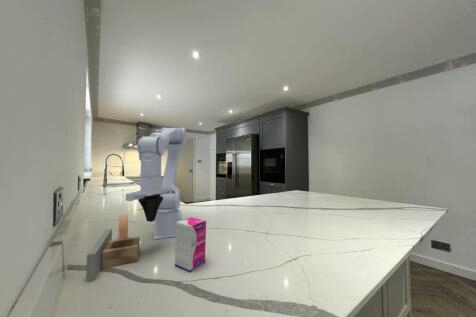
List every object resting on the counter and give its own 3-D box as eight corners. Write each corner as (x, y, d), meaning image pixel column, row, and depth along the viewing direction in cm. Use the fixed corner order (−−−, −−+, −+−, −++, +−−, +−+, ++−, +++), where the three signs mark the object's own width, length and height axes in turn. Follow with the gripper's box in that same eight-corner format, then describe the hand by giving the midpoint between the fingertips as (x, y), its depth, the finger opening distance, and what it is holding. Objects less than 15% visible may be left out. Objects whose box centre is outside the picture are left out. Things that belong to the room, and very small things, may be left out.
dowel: (128, 236, 69) (128, 214, 69) (127, 239, 66) (127, 216, 66) (119, 237, 67) (119, 215, 68) (117, 240, 65) (118, 217, 65)
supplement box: (190, 273, 46) (190, 225, 46) (174, 266, 49) (174, 221, 49) (206, 262, 51) (206, 219, 51) (190, 256, 54) (191, 216, 54)
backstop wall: (111, 247, 59) (111, 228, 60) (95, 280, 43) (95, 253, 43) (105, 248, 59) (105, 229, 59) (86, 281, 42) (87, 254, 43)
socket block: (139, 249, 58) (139, 236, 58) (137, 261, 51) (137, 246, 51) (108, 254, 55) (108, 240, 55) (101, 268, 48) (101, 252, 48)
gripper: (161, 174, 65) (160, 213, 65) (119, 177, 52) (118, 226, 52) (176, 174, 62) (176, 216, 62) (135, 177, 49) (134, 230, 49)
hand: (150, 220), depth 57 cm, fingers closed
